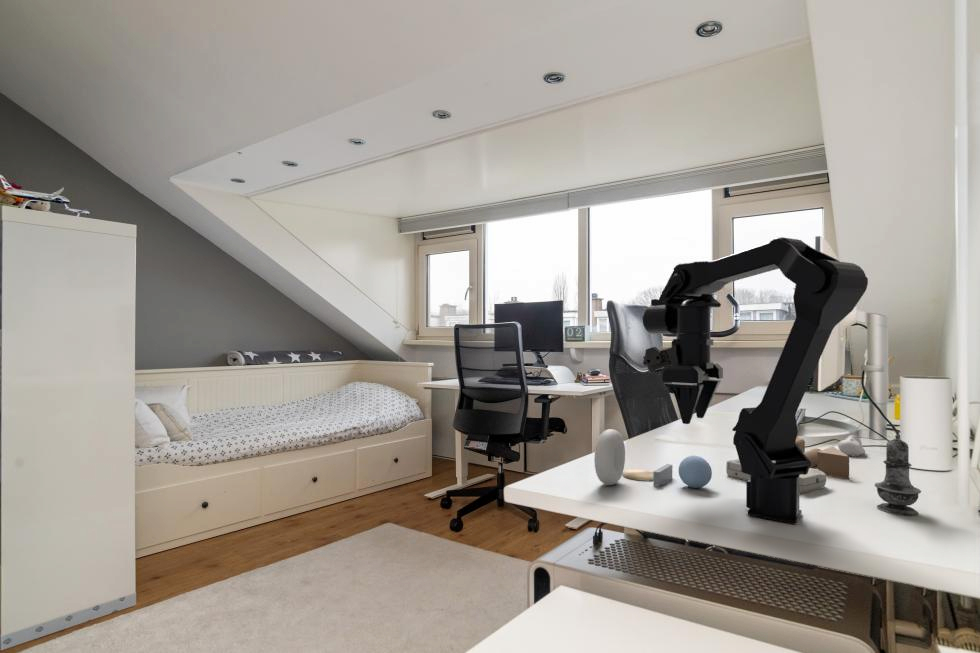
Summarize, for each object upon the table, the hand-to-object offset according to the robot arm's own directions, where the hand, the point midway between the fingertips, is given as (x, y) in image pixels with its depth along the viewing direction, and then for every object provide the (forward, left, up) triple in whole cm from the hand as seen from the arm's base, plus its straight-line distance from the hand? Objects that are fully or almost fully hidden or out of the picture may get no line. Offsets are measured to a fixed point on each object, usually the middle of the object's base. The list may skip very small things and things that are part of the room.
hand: (693, 420), depth 97 cm
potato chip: (+10, -2, -12) cm, 16 cm away
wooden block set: (-15, -35, -13) cm, 41 cm away
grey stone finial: (-29, -7, -12) cm, 32 cm away
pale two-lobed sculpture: (-21, -54, -12) cm, 60 cm away
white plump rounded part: (+12, +8, -12) cm, 19 cm away
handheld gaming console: (-11, -15, -13) cm, 22 cm away
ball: (0, 0, -9) cm, 9 cm away
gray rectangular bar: (+6, -1, -12) cm, 13 cm away
